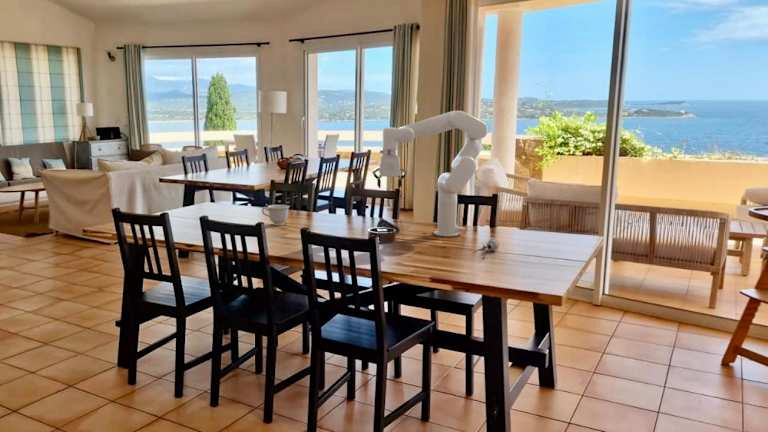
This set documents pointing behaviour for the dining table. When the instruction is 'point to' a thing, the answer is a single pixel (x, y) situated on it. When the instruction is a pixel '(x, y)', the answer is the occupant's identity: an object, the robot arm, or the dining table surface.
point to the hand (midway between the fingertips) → (389, 187)
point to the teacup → (277, 213)
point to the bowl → (383, 234)
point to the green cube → (382, 230)
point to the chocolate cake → (387, 225)
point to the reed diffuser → (491, 246)
